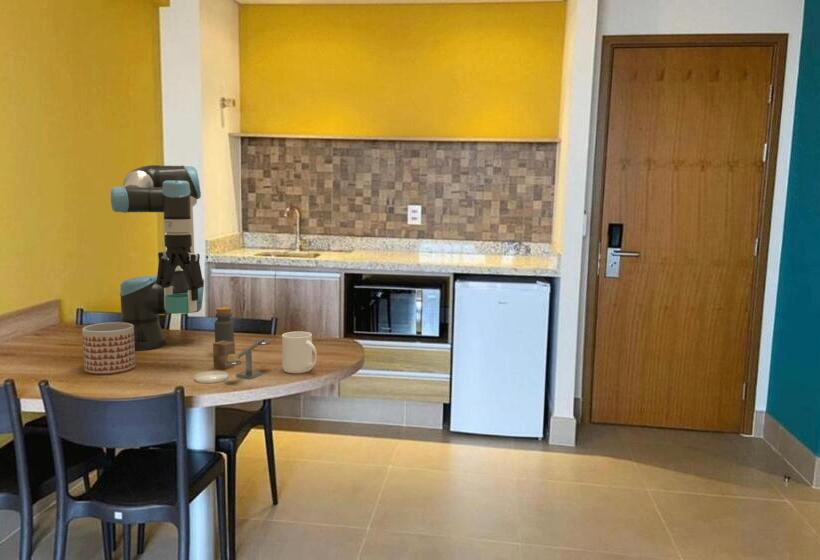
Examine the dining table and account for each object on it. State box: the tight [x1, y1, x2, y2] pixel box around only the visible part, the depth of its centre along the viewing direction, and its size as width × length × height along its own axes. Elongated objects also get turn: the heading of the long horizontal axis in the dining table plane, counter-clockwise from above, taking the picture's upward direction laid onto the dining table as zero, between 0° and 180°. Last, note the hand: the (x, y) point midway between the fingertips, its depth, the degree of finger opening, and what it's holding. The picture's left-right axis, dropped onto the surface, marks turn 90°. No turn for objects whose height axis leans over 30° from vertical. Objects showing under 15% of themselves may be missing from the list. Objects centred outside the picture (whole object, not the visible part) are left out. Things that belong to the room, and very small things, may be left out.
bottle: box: [214, 306, 235, 343], centre depth 212 cm, size 6×6×15 cm
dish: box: [194, 370, 229, 384], centre depth 185 cm, size 9×9×1 cm
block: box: [212, 341, 236, 371], centre depth 197 cm, size 4×4×8 cm
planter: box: [81, 321, 136, 376], centre depth 193 cm, size 14×14×13 cm
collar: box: [165, 293, 191, 315], centre depth 196 cm, size 8×8×5 cm
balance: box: [225, 338, 272, 380], centre depth 188 cm, size 5×18×9 cm, turn 156°
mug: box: [281, 331, 318, 374], centre depth 193 cm, size 9×12×11 cm
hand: (180, 310), depth 196 cm, fingers closed on collar, 8 cm apart
